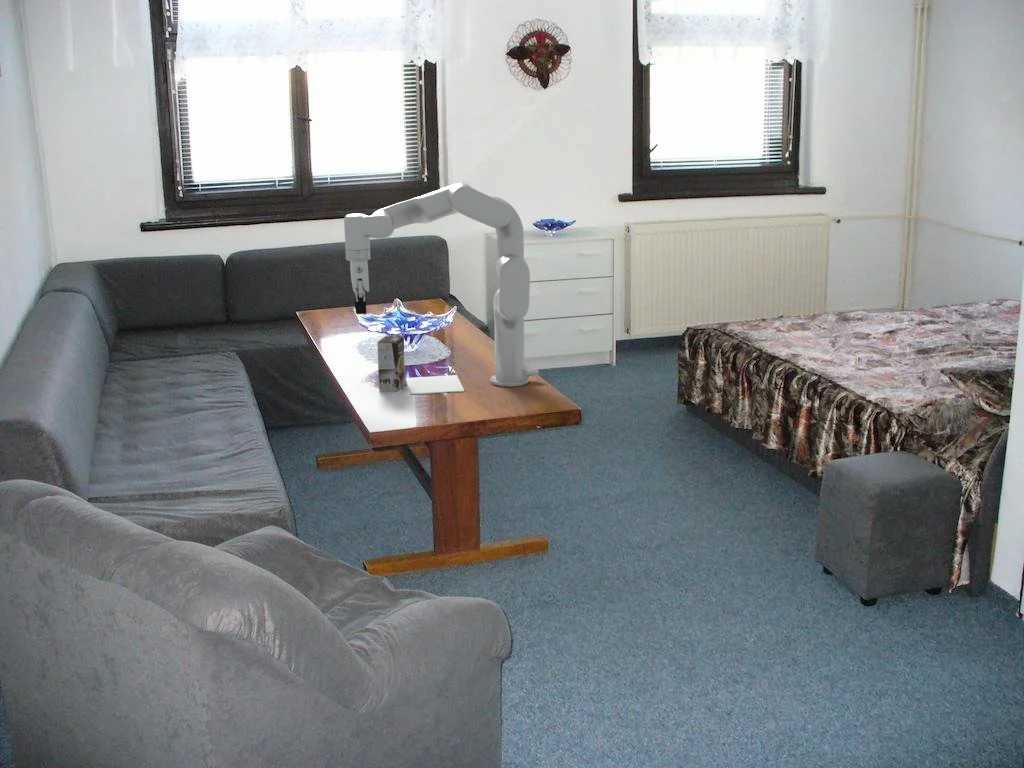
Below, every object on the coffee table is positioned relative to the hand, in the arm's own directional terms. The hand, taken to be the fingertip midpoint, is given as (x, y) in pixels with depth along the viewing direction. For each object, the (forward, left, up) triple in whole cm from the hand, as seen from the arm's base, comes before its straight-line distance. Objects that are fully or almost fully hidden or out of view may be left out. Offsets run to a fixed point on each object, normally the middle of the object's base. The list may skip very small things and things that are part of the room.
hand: (360, 310), depth 346 cm
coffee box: (-9, 0, -26) cm, 27 cm away
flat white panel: (-23, 0, -26) cm, 34 cm away
